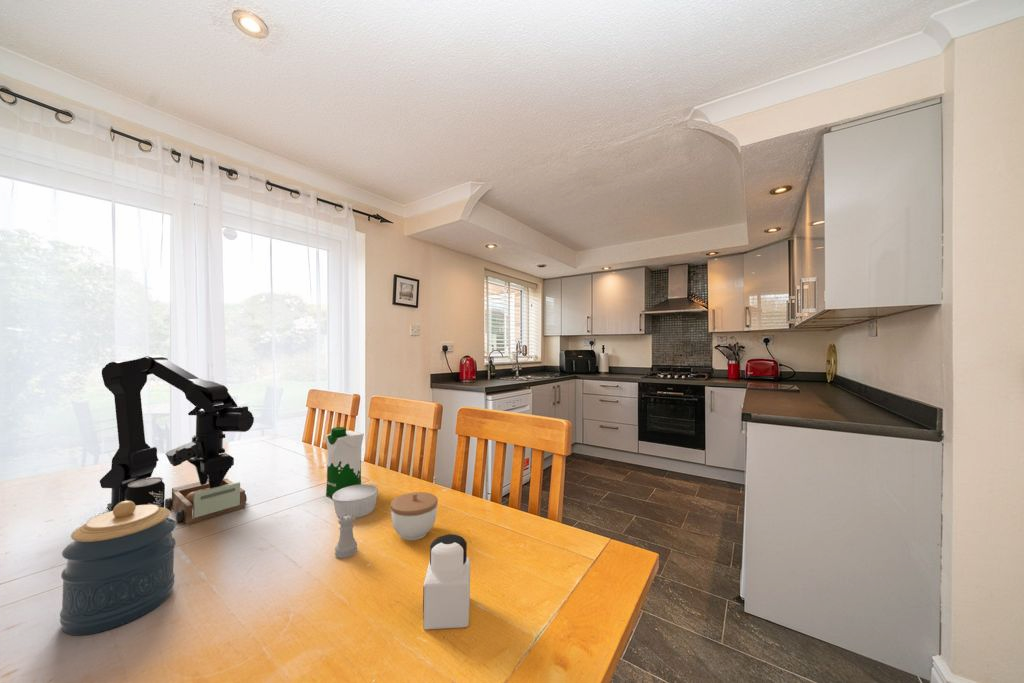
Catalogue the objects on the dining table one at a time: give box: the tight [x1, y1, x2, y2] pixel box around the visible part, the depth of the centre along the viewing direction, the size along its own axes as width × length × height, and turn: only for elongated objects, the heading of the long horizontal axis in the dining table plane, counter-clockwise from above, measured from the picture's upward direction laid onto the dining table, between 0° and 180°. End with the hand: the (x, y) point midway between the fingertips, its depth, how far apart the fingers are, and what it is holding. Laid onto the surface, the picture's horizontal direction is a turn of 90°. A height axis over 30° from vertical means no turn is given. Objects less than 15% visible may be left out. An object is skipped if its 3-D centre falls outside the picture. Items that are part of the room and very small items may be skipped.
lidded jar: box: [390, 491, 438, 541], centre depth 85 cm, size 11×11×9 cm
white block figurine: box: [422, 533, 471, 631], centre depth 60 cm, size 7×7×12 cm
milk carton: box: [325, 426, 365, 498], centre depth 107 cm, size 9×9×20 cm
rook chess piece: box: [334, 513, 358, 560], centre depth 76 cm, size 4×4×8 cm
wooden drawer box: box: [164, 478, 248, 525], centre depth 98 cm, size 18×14×4 cm
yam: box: [186, 488, 210, 504], centre depth 99 cm, size 3×8×3 cm, turn 144°
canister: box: [59, 501, 177, 636], centre depth 60 cm, size 13×13×18 cm
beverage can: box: [125, 476, 166, 508], centre depth 84 cm, size 7×7×12 cm
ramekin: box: [331, 483, 379, 519], centre depth 96 cm, size 11×11×5 cm
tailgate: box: [193, 481, 241, 518], centre depth 93 cm, size 1×9×6 cm, turn 144°
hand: (208, 488), depth 98 cm, fingers open, 9 cm apart
